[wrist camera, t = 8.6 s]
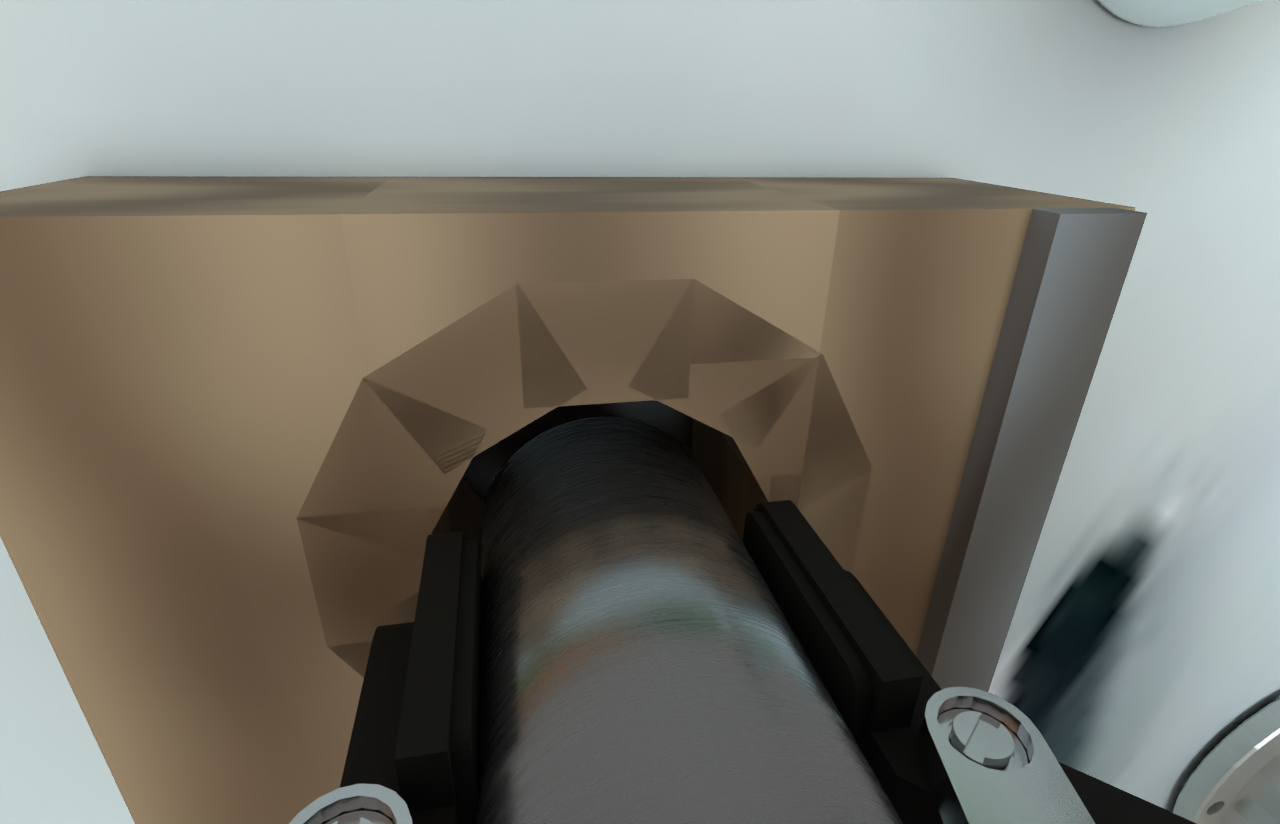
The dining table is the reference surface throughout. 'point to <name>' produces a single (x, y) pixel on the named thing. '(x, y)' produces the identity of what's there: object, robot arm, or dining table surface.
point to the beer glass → (1170, 10)
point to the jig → (498, 414)
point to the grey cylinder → (644, 652)
